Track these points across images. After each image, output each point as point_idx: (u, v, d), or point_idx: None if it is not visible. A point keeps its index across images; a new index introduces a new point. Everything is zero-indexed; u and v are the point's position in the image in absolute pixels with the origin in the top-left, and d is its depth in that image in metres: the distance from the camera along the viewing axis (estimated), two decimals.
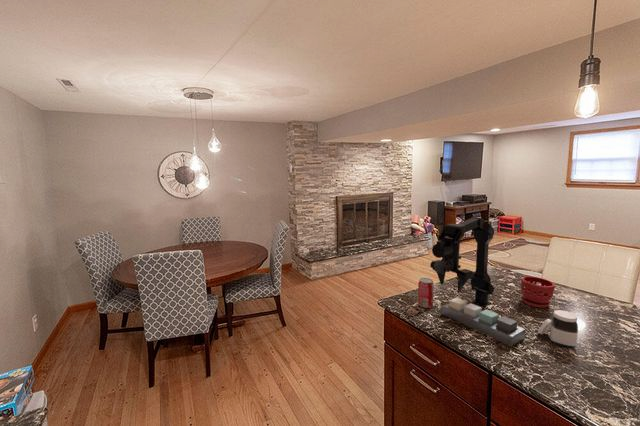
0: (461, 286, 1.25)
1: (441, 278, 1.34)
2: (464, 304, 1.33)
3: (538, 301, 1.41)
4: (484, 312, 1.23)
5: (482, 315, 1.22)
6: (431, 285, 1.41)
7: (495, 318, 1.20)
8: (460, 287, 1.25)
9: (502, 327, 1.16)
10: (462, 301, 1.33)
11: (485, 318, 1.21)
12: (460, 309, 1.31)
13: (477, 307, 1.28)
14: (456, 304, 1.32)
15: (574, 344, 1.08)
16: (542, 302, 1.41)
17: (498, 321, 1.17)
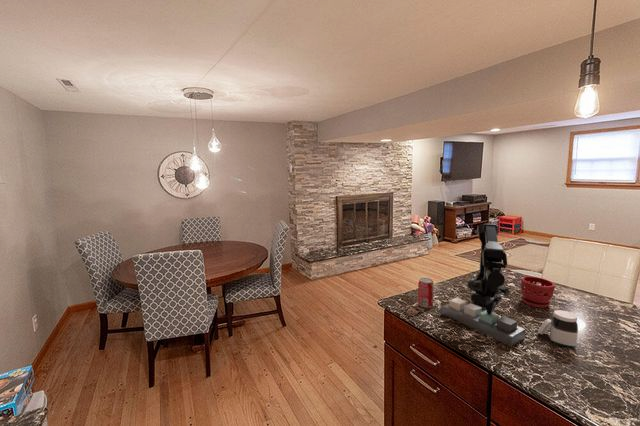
0: (488, 308, 1.21)
1: None
2: (464, 304, 1.33)
3: (538, 301, 1.41)
4: (484, 312, 1.23)
5: (482, 316, 1.22)
6: (431, 285, 1.41)
7: (495, 319, 1.20)
8: (487, 309, 1.22)
9: (502, 327, 1.16)
10: (462, 301, 1.33)
11: (485, 318, 1.21)
12: (460, 309, 1.31)
13: (477, 307, 1.28)
14: (456, 304, 1.32)
15: (574, 344, 1.08)
16: (542, 302, 1.41)
17: (498, 321, 1.17)
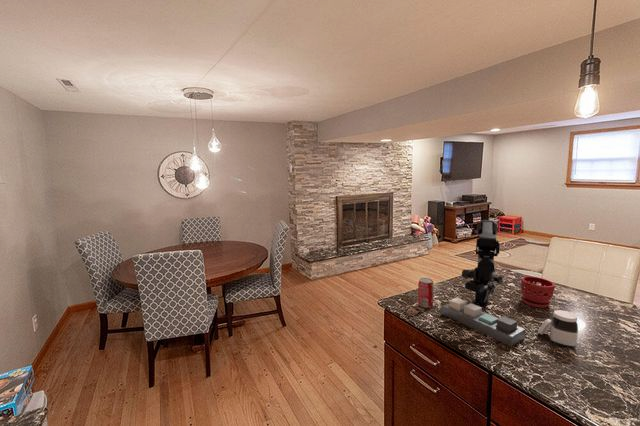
0: (481, 296, 1.23)
1: None
2: (464, 304, 1.33)
3: (538, 301, 1.41)
4: (484, 316, 1.24)
5: (482, 319, 1.23)
6: (431, 285, 1.41)
7: (494, 322, 1.21)
8: (481, 297, 1.24)
9: (502, 327, 1.16)
10: (462, 301, 1.33)
11: None
12: (460, 309, 1.31)
13: (477, 307, 1.28)
14: (456, 304, 1.32)
15: (574, 344, 1.08)
16: (542, 302, 1.41)
17: (498, 321, 1.17)
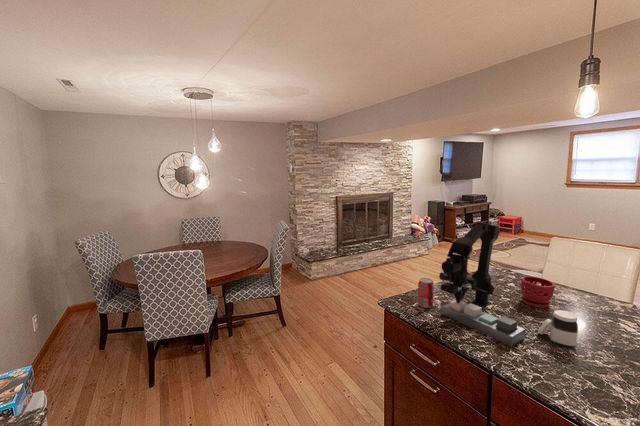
0: (457, 297, 1.33)
1: None
2: None
3: (538, 301, 1.41)
4: (484, 316, 1.24)
5: (482, 319, 1.23)
6: (431, 285, 1.41)
7: (494, 322, 1.21)
8: (456, 298, 1.34)
9: (502, 327, 1.16)
10: (462, 303, 1.34)
11: None
12: None
13: (477, 307, 1.28)
14: (456, 306, 1.32)
15: (574, 344, 1.08)
16: (542, 302, 1.41)
17: (498, 321, 1.17)
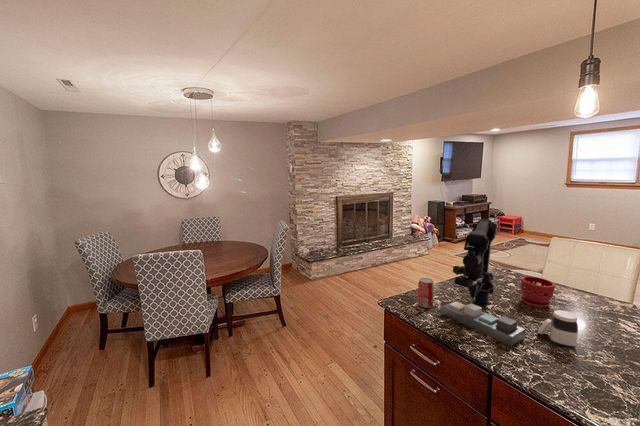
0: (471, 292, 1.27)
1: None
2: None
3: (538, 301, 1.41)
4: (484, 316, 1.24)
5: (482, 319, 1.23)
6: (431, 285, 1.41)
7: (494, 322, 1.21)
8: (470, 292, 1.27)
9: (502, 327, 1.16)
10: (462, 305, 1.34)
11: None
12: None
13: (477, 307, 1.28)
14: (456, 308, 1.32)
15: (574, 344, 1.08)
16: (542, 302, 1.41)
17: (498, 321, 1.17)
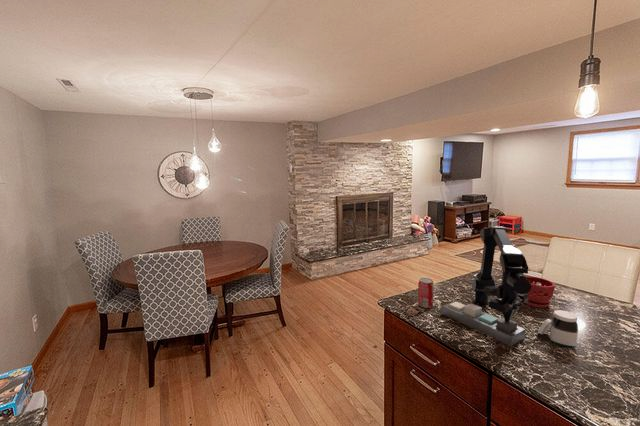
0: (506, 316, 1.15)
1: None
2: None
3: (538, 301, 1.41)
4: (484, 316, 1.24)
5: (482, 319, 1.23)
6: (431, 285, 1.41)
7: (494, 322, 1.21)
8: (505, 316, 1.16)
9: (502, 328, 1.16)
10: (462, 305, 1.34)
11: None
12: None
13: (477, 307, 1.28)
14: (456, 308, 1.32)
15: (574, 344, 1.08)
16: (542, 302, 1.41)
17: (498, 322, 1.17)
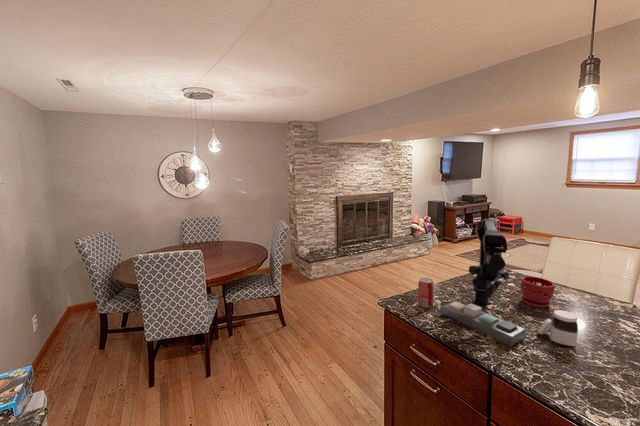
0: (488, 292, 1.26)
1: None
2: None
3: (538, 301, 1.41)
4: (484, 316, 1.24)
5: (482, 319, 1.23)
6: (431, 285, 1.41)
7: (494, 322, 1.21)
8: (487, 292, 1.26)
9: None
10: (462, 305, 1.34)
11: None
12: None
13: (477, 307, 1.28)
14: (456, 308, 1.32)
15: (574, 344, 1.08)
16: (542, 302, 1.41)
17: (498, 326, 1.17)
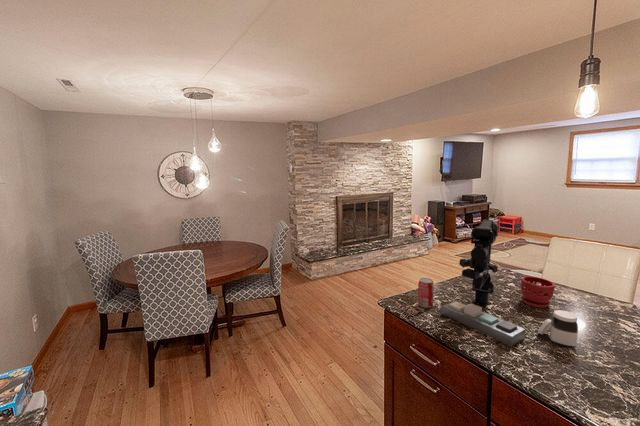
0: (477, 283, 1.33)
1: None
2: None
3: (538, 301, 1.41)
4: (484, 316, 1.24)
5: (482, 319, 1.23)
6: (431, 285, 1.41)
7: (494, 322, 1.21)
8: (477, 284, 1.33)
9: None
10: (462, 305, 1.34)
11: None
12: None
13: (477, 307, 1.28)
14: (456, 308, 1.32)
15: (574, 344, 1.08)
16: (542, 302, 1.41)
17: (498, 326, 1.17)
